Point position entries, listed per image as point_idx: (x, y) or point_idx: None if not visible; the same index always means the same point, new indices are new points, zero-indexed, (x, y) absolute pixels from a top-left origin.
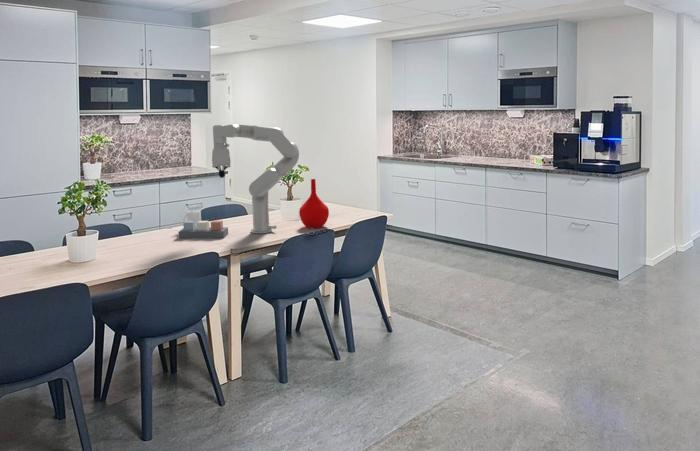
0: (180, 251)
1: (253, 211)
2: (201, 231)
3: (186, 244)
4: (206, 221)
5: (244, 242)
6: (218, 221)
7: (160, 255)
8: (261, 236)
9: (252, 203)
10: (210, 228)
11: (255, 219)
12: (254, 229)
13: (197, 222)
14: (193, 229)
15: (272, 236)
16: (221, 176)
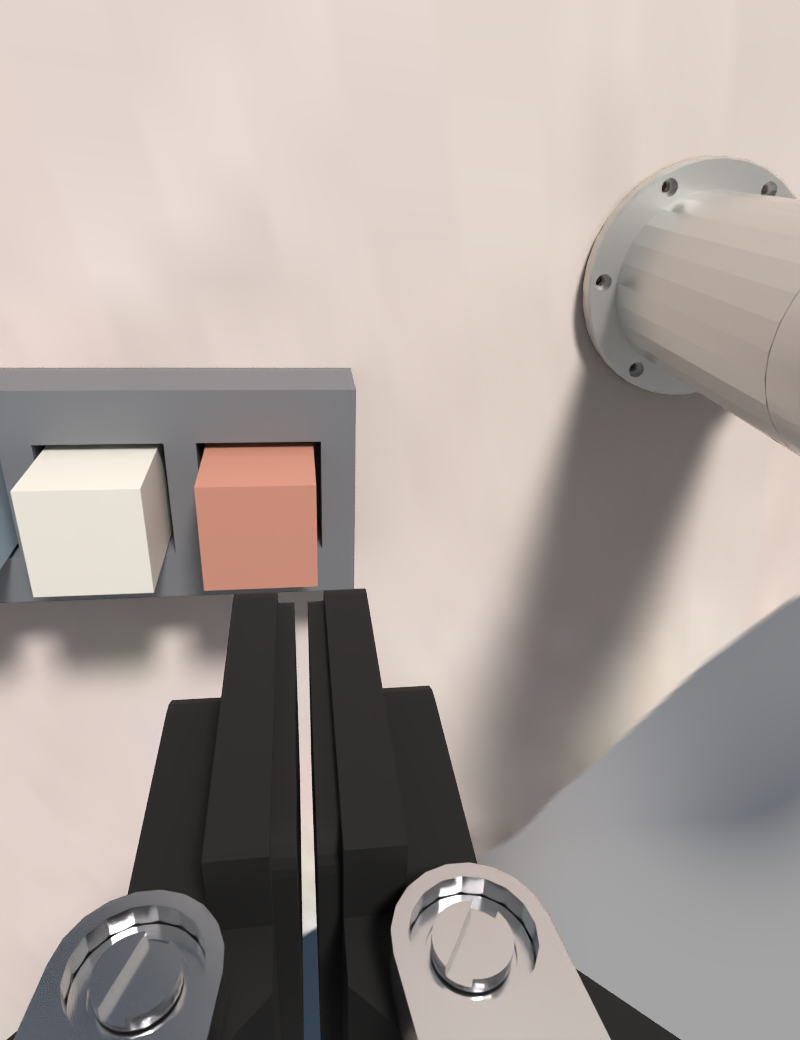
0: None
1: (735, 404)
2: (128, 597)
3: (102, 761)
4: (129, 541)
5: (543, 697)
6: (282, 545)
7: None
8: (676, 500)
9: (796, 416)
10: (169, 454)
11: (702, 394)
12: (633, 343)
13: (39, 595)
14: (7, 550)
15: (766, 503)
16: (299, 774)
